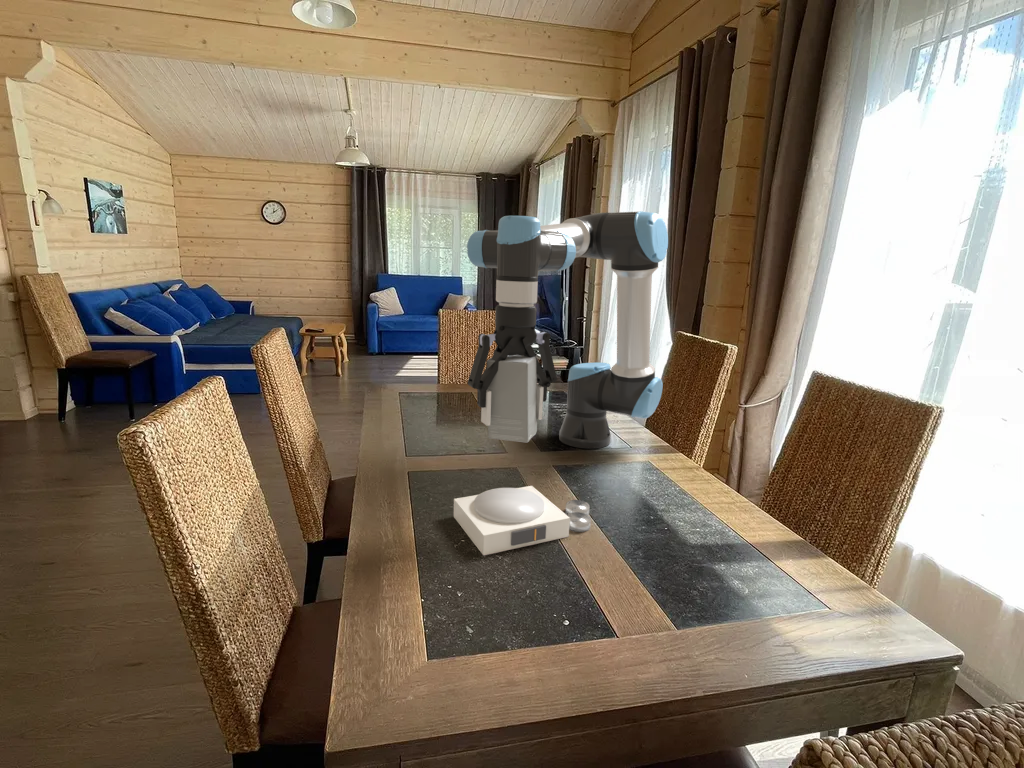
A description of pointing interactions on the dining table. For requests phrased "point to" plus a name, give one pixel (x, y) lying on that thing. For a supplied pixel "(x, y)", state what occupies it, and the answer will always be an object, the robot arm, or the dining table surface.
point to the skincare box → (514, 399)
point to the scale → (510, 519)
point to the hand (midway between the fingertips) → (511, 420)
